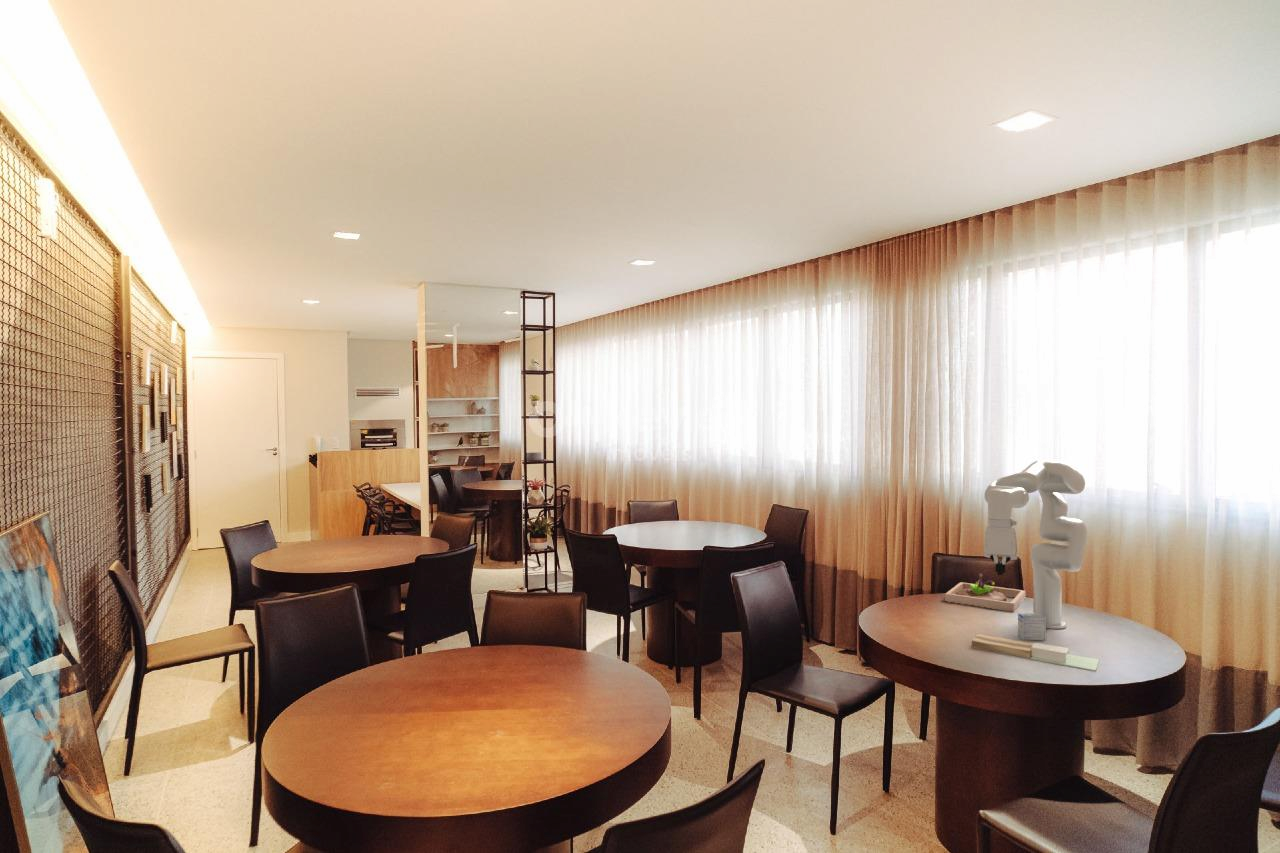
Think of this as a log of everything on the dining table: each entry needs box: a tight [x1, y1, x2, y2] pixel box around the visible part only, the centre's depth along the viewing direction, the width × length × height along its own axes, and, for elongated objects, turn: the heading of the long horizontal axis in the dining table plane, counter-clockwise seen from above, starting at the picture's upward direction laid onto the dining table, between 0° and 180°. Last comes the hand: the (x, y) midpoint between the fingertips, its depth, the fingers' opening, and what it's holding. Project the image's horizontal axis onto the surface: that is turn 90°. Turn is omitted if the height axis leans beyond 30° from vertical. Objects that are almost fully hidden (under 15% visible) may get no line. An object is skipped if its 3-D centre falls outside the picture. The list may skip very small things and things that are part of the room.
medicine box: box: [1017, 612, 1047, 641], centre depth 251 cm, size 8×4×9 cm, turn 84°
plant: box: [956, 572, 1007, 602], centre depth 307 cm, size 20×20×11 cm
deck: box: [971, 633, 1035, 659], centre depth 239 cm, size 10×18×2 cm, turn 52°
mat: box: [1030, 654, 1100, 672], centre depth 228 cm, size 12×18×1 cm, turn 52°
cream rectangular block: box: [1031, 642, 1070, 662], centre depth 230 cm, size 6×10×3 cm, turn 52°
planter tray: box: [944, 581, 1026, 613], centre depth 304 cm, size 27×27×4 cm
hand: (1000, 574), depth 245 cm, fingers closed
